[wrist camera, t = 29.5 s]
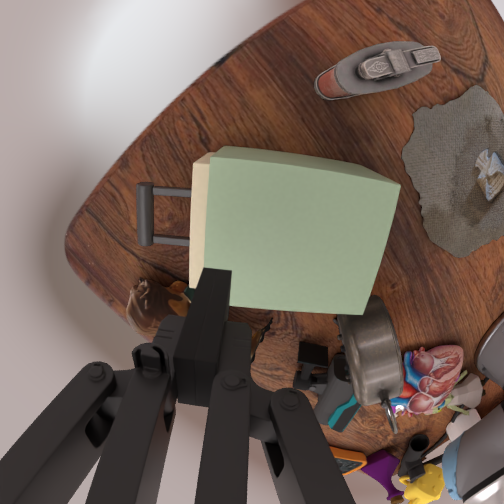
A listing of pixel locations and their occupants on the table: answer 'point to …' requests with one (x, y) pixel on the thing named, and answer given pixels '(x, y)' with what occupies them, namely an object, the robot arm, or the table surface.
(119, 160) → the table surface
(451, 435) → the mug
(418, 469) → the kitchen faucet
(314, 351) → the surveillance camera
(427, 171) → the grey stone sculpture
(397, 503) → the perfume bottle
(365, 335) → the alarm clock
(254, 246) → the cabinet
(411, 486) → the teapot
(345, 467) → the multimeter
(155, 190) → the drawer
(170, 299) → the figurine
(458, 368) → the anatomical model
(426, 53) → the lighter
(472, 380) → the figurine
